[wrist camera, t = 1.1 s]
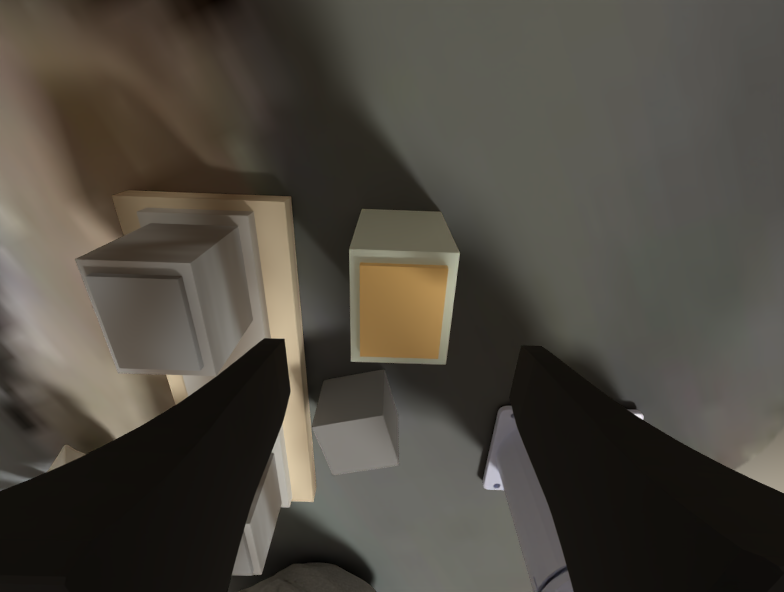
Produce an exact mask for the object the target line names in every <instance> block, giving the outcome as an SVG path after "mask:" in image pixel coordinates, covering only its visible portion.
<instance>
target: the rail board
mask: <svg viewBox="0 0 784 592" xmlns="http://www.w3.org/2000/svg"><path fill="white" fill-rule="evenodd" d="M111 196H112V199H113V203H114V206H115V209H116V212H117V216H118V219H119V222H120V225H121V229H122V232H123V235H124V236H122V237H120V238H118V239H116V240H114V241H112V242H110V243H108V244H106V245H104V246H102V247H100V248H97V249H95V250H93V251H91V252H89V253H87V254H85V255H83V256H81V257H79V258H77V259H75V261H76V263H77V266H78V269H79V271H80V274H81V277H82V279H83V282H84V284H85V287H86V290H87V292H88V295H89V298H90V300H91V303H92V306H93V308H94V311H95V313H96V316H97V319H98V321H99V324H100V327H101V329H102V332H103V334H104V337H105V340H106V342H107V345H108V348H109V350H110V353H111V356H112V358H113V361H114V363H115V366H116V369H117V371H118V373H128V374H161V375H166V376H167V379H168V382H169V386H170V389H171V392H172V395H173V399H174V402H175V405H176V404H178V403H179V402H181V401H182V400H184V399H185V398H187V397H188V396H190V395H191V394H192V393H194V392H195V391H197V390H198V389H199V388H201V387H202V386H204V385H205V384H206V383H208V382H209V381H211V380H212V379H213V378H215V377H216V376H217V375H219V374H220V373H221V372H222V371H224V370H225V369H226V368H228V367H229V366H230V365H231V364H233V363H234V362H235V361H236V360H238V359H239V358H240V357H241V356H243V355H244V354H245V353H246V352H247V351H249V350H250V349H251V348H252V347H254V346H255V345H256V344H257V343H259V342H260V341H261V340H263V339H264V338H276V339H285V347H286V355H287V364H288V372H289V380H290V389H291V393H290V397H289V401H288V405H287V409H286V413H285V417H284V421H283V424H282V426H281V429H280V431H279V434H278V437H277V439H276V442H275V444H274V447H273V450H272V452H271V455H270V457H269V460H268V462H267V465H266V467H265V470H264V472H263V475H262V477H261V480H260V483H259V485H258V488H257V490H256V493H255V496H254V499H253V502H252V504H251V507H250V511H249V514H248V518H247V521H246V525H245V528H244V532H243V535H242V539H241V542H240V546H239V550H238V553H237V557H236V561H235V564H234V568H233V572H232V575H240V576H252V575H262V572H263V568H264V565H265V561H266V558H267V554H268V550H269V547H270V543H271V540H272V536H273V533H274V529H275V526H276V522H277V518H278V515H279V511H280V508H281V507H290V504H291V501H301V502H313V501H314V496H315V491H316V477H315V465H314V454H313V443H312V431H311V420H310V408H309V397H308V385H307V374H306V362H305V351H304V340H303V328H302V317H301V305H300V294H299V282H298V271H297V259H296V248H295V236H294V225H293V214H292V202H291V196H267V195H240V194H214V193H187V192H160V191H133V190H127V191H124V192H121V193H118V194H115V195H111Z"/></svg>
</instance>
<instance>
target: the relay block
mask: <svg viewBox="0 0 784 592" xmlns="http://www.w3.org/2000/svg"><path fill="white" fill-rule="evenodd" d="M312 429H313V431H314V434H315V436H316V438H317V440H318V443H319V445H320V447H321V449H322V452H323V454H324V456H325V458H326V460H327V463H328V465H329V467H330V469H331V472H332V474H333V475H339V474H345V473H352V472H358V471H365V470H371V469H378V468H384V467H391V466H398V465H399V431H398V413H397V409H396V406H395V403H394V399H393V396H392V393H391V389H390V386H389V382H388V379H387V376H386V372H385V369H383V370H377V371H372V372H366V373H360V374H355V375H349V376H344V377H338V378H333V379H327V380H324V381H323V385H322V389H321V393H320V397H319V401H318V404H317V408H316V412H315V416H314V420H313V424H312Z"/></svg>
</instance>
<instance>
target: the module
mask: <svg viewBox="0 0 784 592" xmlns="http://www.w3.org/2000/svg"><path fill="white" fill-rule="evenodd" d="M459 256H460V252H459V250H458V248H457V246H456V243H455V241H454V239H453V237H452V235H451V232H450V230H449V228H448V226H447V224H446V222H445V219H444V217H443V215H442V213H441V212H435V211H408V210H380V209H362V210H361V213H360V216H359V219H358V222H357V226H356V229H355V232H354V235H353V238H352V241H351V245H350V248H349V273H350V331H351V362H379V363H410V364H442V365H446V359H447V351H448V343H449V335H450V327H451V319H452V311H453V303H454V296H455V288H456V280H457V272H458V264H459Z"/></svg>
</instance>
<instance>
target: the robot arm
mask: <svg viewBox="0 0 784 592" xmlns="http://www.w3.org/2000/svg"><path fill="white" fill-rule="evenodd" d="M290 393H291V389H290V380H289V372H288V364H287V355H286V347H285V339H276V338H264V339H263V340H261V341H260V342H259V343H257V344H256V345H255V346H254V347H252V348H251V349H250V350H249V351H247V352H246V353H245V354H244V355H243V356H241V357H240V358H239V359H238V360H236V361H235V362H234V363H233V364H231V365H230V366H229V367H228V368H226V369H225V370H224V371H222V372H221V373H220V374H219V375H217V376H216V377H215V378H213V379H212V380H211V381H209V382H208V383H206V384H205V385H204V386H202V387H201V388H199V389H198V390H197V391H195V392H194V393H192V394H191V395H190V396H188V397H187V398H185V399H184V400H182V401H181V402H179V403H178V404H176V405H175V406H173V407H172V408H170V409H169V410H167V411H165V412H164V413H162V414H160V415H159V416H157V417H155V418H154V419H152V420H150V421H149V422H147V423H145V424H144V425H142V426H140V427H138V428H136V429H134V430H133V431H131V432H129V433H127V434H125V435H123V436H121V437H119V438H117V439H116V440H114V441H112V442H110V443H108V444H106V445H104V446H102V447H100V448H98V449H96V450H94V451H92V452H90V453H88V454H86V455H84V456H82V457H80V458H78V459H75V460H73V461H71V462H69V463H67V464H64V465H62V466H60V467H58V468H55V469H53V470H51V471H49V472H46V473H44V474H42V475H39V476H37V477H35V478H32V479H30V480H28V481H25V482H23V483H20V484H18V485H15V486H12V487H10V488H7V489H5V490H2V491H0V592H227V591H228V587H229V583H230V579H231V576H232V572H233V568H234V564H235V561H236V557H237V553H238V550H239V546H240V542H241V539H242V535H243V532H244V528H245V525H246V521H247V518H248V514H249V511H250V507H251V504H252V502H253V499H254V496H255V493H256V490H257V488H258V485H259V483H260V480H261V477H262V475H263V472H264V470H265V467H266V465H267V462H268V460H269V457H270V455H271V452H272V450H273V447H274V444H275V442H276V439H277V437H278V434H279V431H280V429H281V426H282V424H283V421H284V417H285V413H286V409H287V405H288V401H289V397H290ZM509 398H510V402H511V406H503V407H501V408H500V409H499V410H498V414H497V418H496V423H495V427H494V432H493V436H492V441H491V445H490V450H489V454H488V459H487V463H486V467H485V472H484V476H483V481H482V483H483V487H484V488H485V489H488V490H504V491H505V495H506V498H507V502H508V505H509V509H510V512H511V516H512V519H513V522H514V526H515V529H516V533H517V536H518V540H519V543H520V547H521V550H522V554H523V557H524V561H525V564H526V567H527V571H528V574H529V578H530V581H531V585H532V588H533V592H784V493H782V492H780V491H777V490H775V489H773V488H771V487H769V486H766V485H764V484H762V483H760V482H757V481H755V480H753V479H751V478H749V477H747V476H745V475H743V474H740V473H738V472H736V471H734V470H732V469H730V468H728V467H726V466H724V465H722V464H720V463H718V462H716V461H714V460H713V459H711V458H709V457H707V456H705V455H703V454H701V453H699V452H697V451H695V450H693V449H692V448H690V447H688V446H686V445H684V444H683V443H681V442H679V441H677V440H675V439H674V438H672V437H670V436H669V435H667V434H665V433H664V432H662V431H660V430H659V429H657V428H655V427H654V426H652V425H650V424H649V423H647V422H645V421H644V420H643V418H644V416H643V414H642V413H641V412H640V411H639V410H632V409H626V408H624V407H623V406H621V405H620V404H618V403H617V402H615V401H614V400H613V399H611V398H610V397H608V396H607V395H606V394H604V393H603V392H601V391H600V390H599V389H597V388H596V387H595V386H593V385H592V384H591V383H589V382H588V381H587V380H585V379H584V378H583V377H581V376H580V375H579V374H578V373H576V372H575V371H574V370H572V369H571V368H570V367H569V366H567V365H566V364H565V363H563V362H562V361H561V360H560V359H558V358H557V357H556V356H554V355H553V354H552V353H550V352H549V351H548V350H546V349H545V348H543V347H542V346H521V349H520V354H519V358H518V362H517V367H516V371H515V375H514V379H513V384H512V388H511V392H510V397H509ZM512 413H513V414H512Z"/></svg>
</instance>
